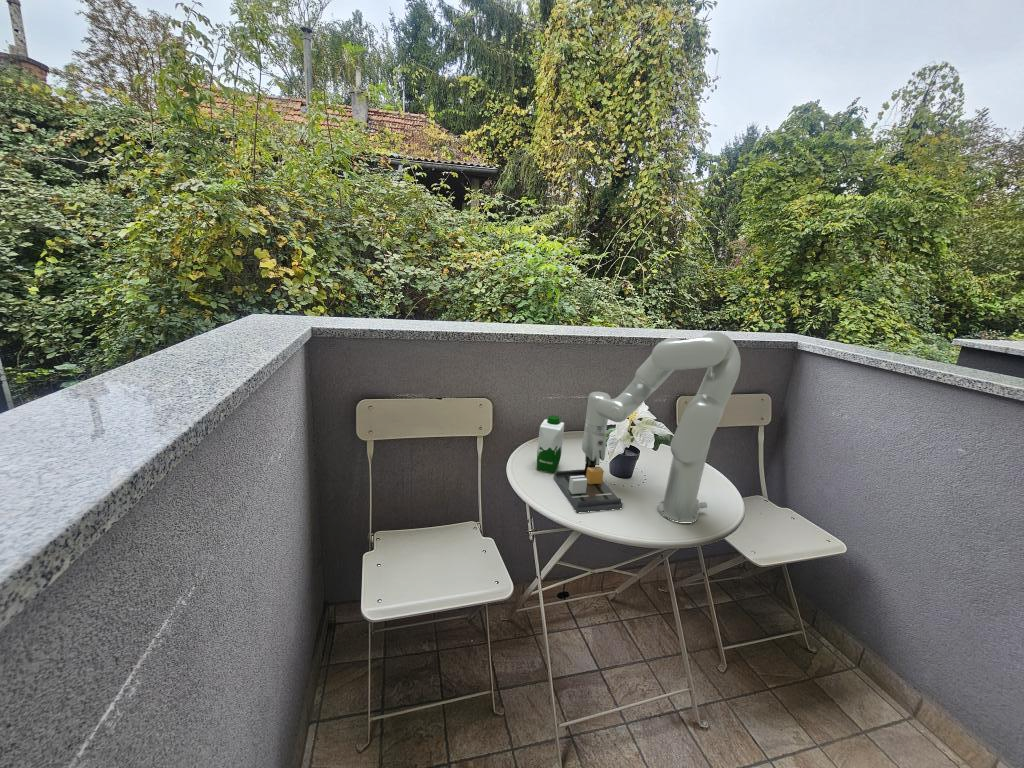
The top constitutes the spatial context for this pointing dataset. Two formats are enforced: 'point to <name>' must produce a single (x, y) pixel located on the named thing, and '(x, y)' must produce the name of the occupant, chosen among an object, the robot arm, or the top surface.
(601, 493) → the panel
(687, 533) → the top surface
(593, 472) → the block
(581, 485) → the block
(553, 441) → the milk carton
